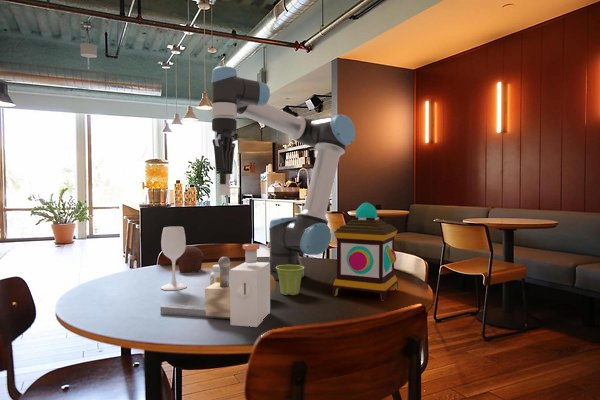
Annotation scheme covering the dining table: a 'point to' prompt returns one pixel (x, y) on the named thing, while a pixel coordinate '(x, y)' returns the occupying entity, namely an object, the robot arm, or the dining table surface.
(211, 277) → the supplement bottle
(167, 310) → the rail track
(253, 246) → the orange mushroom
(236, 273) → the end cabinet
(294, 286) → the plant pot
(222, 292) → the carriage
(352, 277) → the decorative lantern
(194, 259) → the muffin
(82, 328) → the dining table surface
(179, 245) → the wineglass
